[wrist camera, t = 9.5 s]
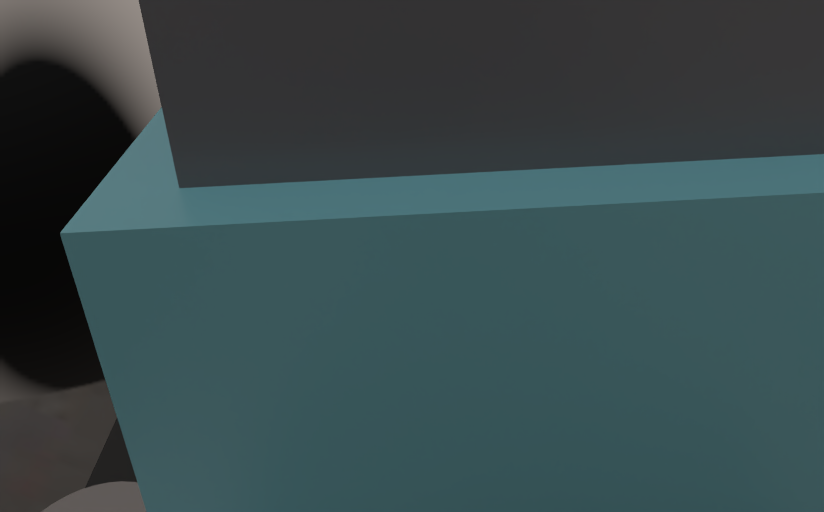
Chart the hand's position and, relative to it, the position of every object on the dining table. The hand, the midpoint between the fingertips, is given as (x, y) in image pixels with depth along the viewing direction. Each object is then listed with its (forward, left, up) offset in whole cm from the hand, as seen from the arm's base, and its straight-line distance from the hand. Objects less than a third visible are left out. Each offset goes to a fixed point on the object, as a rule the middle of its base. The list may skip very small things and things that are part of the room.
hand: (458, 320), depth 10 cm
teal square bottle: (0, -3, -8) cm, 8 cm away
